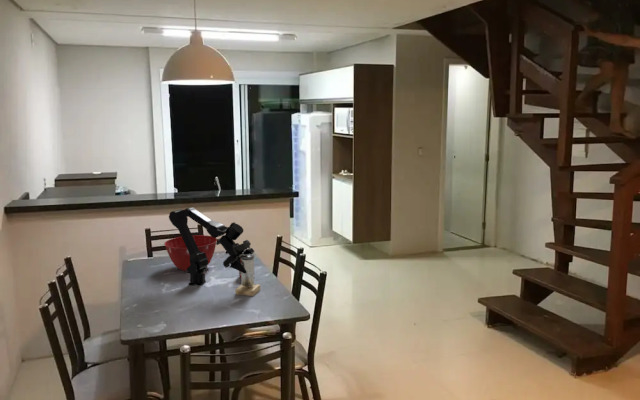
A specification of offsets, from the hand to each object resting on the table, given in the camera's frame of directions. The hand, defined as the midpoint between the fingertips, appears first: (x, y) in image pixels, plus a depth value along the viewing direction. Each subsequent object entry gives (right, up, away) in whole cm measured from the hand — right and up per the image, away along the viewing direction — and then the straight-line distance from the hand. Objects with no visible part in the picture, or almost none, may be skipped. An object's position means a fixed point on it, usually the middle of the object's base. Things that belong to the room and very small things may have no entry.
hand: (249, 271), depth 246 cm
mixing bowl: (-38, -4, +43) cm, 57 cm away
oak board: (-1, -10, +2) cm, 10 cm away
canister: (-1, -7, +2) cm, 7 cm away
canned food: (-5, -7, +26) cm, 27 cm away
